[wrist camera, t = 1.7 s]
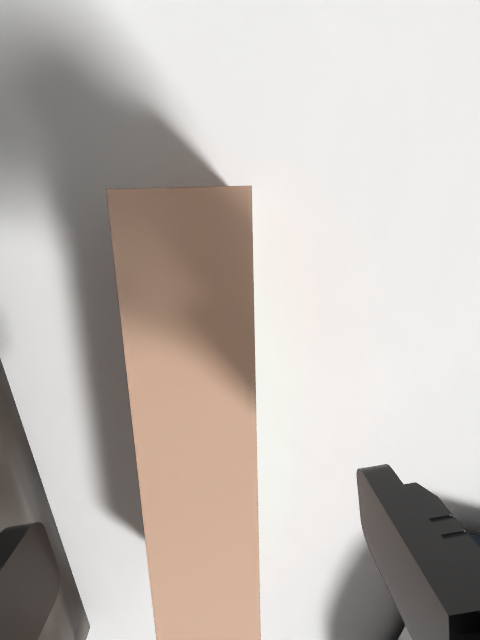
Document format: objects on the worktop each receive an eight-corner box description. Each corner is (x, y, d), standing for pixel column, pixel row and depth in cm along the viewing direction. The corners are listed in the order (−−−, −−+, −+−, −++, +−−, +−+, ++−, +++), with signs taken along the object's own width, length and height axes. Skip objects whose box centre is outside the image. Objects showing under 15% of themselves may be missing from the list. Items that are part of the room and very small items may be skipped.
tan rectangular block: (144, 204, 13) (106, 188, 9) (241, 201, 13) (251, 185, 9) (175, 556, 17) (159, 668, 12) (250, 550, 17) (261, 659, 13)
